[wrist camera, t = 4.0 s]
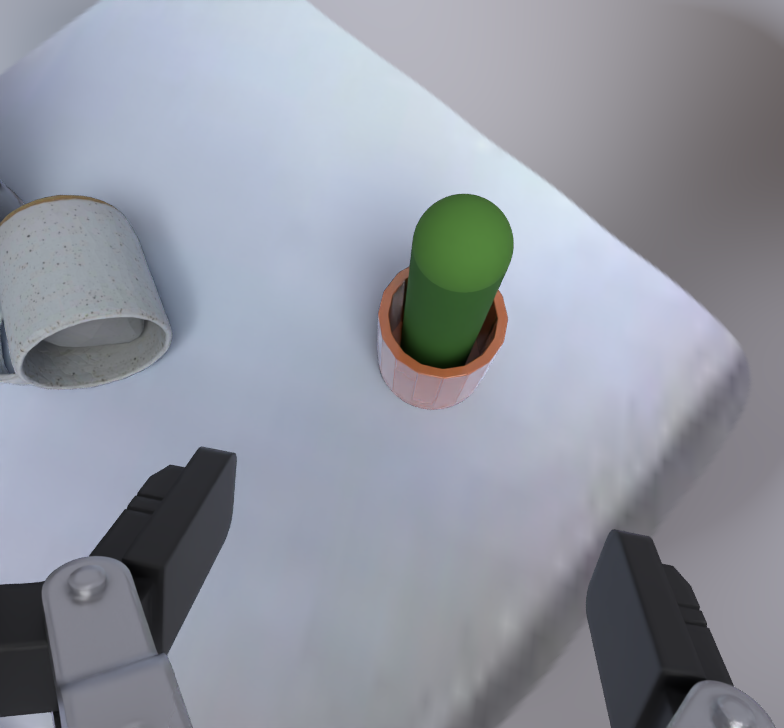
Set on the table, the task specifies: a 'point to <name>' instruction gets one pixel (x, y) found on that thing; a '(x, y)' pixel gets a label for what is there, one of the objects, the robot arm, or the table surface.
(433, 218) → the cucumber
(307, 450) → the table surface
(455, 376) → the cup
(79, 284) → the ceramic mug
